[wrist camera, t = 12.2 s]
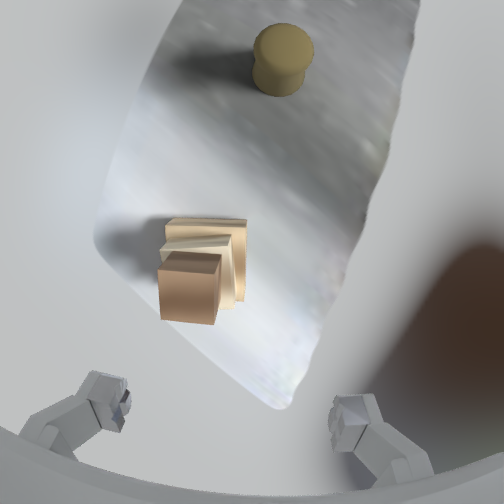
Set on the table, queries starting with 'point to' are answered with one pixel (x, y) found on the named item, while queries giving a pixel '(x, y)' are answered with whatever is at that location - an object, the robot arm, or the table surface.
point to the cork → (281, 59)
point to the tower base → (216, 227)
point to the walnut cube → (190, 287)
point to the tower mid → (212, 246)
